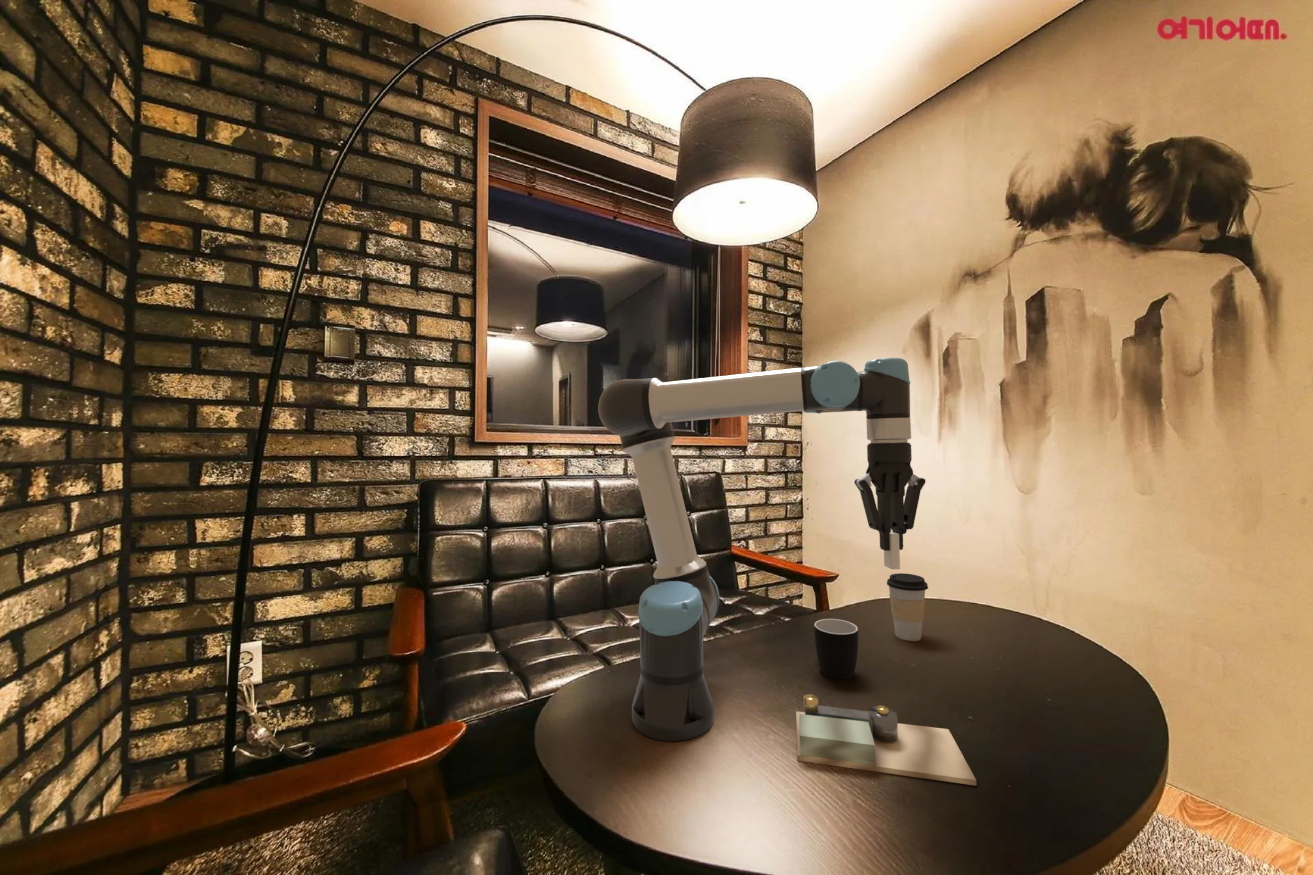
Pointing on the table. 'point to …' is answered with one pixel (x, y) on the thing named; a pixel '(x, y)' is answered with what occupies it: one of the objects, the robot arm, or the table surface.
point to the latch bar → (859, 717)
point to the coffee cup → (907, 604)
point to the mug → (836, 647)
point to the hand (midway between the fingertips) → (892, 567)
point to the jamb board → (882, 749)
